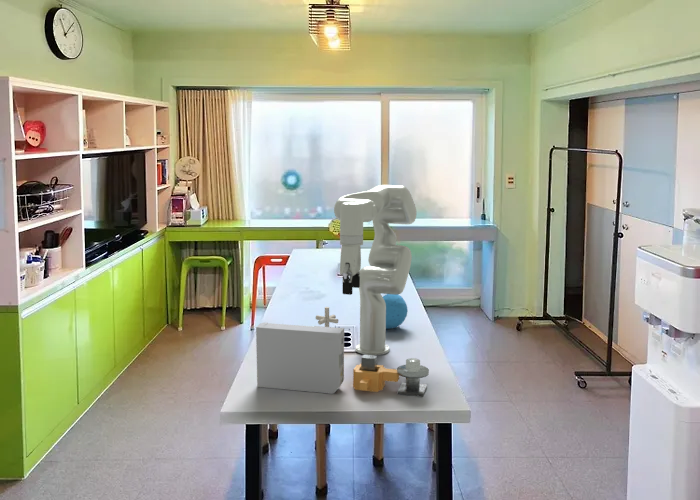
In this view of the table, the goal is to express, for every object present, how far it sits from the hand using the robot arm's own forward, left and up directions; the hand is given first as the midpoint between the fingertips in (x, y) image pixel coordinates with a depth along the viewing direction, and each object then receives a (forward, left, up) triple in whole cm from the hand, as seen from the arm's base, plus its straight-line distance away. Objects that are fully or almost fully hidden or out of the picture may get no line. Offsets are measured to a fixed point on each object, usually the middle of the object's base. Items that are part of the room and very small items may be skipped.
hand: (351, 290), depth 230 cm
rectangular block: (+11, +9, -28) cm, 32 cm away
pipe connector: (-42, -21, -28) cm, 55 cm away
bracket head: (+13, +11, -28) cm, 33 cm away
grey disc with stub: (+11, +23, -28) cm, 38 cm away
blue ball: (-54, +1, -28) cm, 61 cm away
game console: (+18, -12, -29) cm, 36 cm away
